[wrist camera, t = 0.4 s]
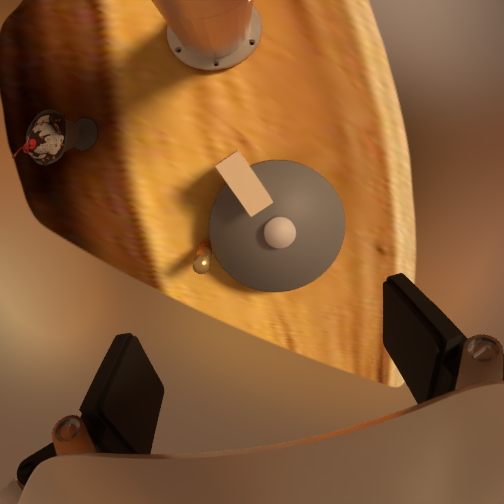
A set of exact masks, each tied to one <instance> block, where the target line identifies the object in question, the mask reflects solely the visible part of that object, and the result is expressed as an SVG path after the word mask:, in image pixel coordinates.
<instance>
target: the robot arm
mask: <svg viewBox="0 0 504 504" xmlns="http://www.w3.org/2000/svg"><path fill="white" fill-rule="evenodd" d="M152 1H153V3H154V5H155V6H156V7H157V9H158V10H159V12H160V13H161V15H162V16H163V18H164V19H165V20H166V22H167V23H168V26H167V41H168V44H169V47H170V49H171V50H172V52H173V53H174V55H175V56H176V57H177V58H178V59H179V60H180V61H182V62H183V63H184V64H186V65H188V66H190V67H193V68H196V69H200V70H208V71H213V70H222V69H227V68H230V67H232V66H235V65H237V64H239V63H241V62H242V61H244V60H245V59H246V58H248V57H249V56H250V55H251V54H252V53H253V51H254V50H255V49H256V47H257V45H258V43H259V42H260V38H261V34H262V20H261V17H260V15H259V13H258V11H257V9H256V8H255V7H254V6H253V0H152ZM250 43H253V45H250ZM179 50H181V52H179V53H178V51H179ZM216 63H217V64H218V66H214V65H215V64H216ZM383 343H384V346H385V348H386V350H387V352H388V353H389V355H390V357H391V358H392V360H393V362H394V363H395V365H396V367H397V368H398V370H399V372H400V374H401V375H402V377H403V379H404V380H405V382H406V384H407V386H408V387H409V389H410V391H411V393H412V394H413V396H414V398H415V400H416V402H417V403H418V405H415V406H413V407H410V408H407V409H404V410H402V411H399V412H396V413H393V414H390V415H387V416H384V417H382V418H378V419H375V420H372V421H369V422H366V423H362V424H359V425H356V426H353V427H349V428H345V429H342V430H338V431H334V432H330V433H326V434H322V435H318V436H314V437H309V438H305V439H300V440H295V441H290V442H285V443H279V444H273V445H267V446H261V447H254V448H247V449H239V450H230V451H219V452H207V453H192V454H156V455H154V454H150V453H151V448H152V443H153V439H154V434H155V430H156V425H157V421H158V417H159V412H160V408H161V404H162V399H163V395H164V386H163V384H162V382H161V381H160V379H159V377H158V375H157V373H156V372H155V370H154V368H153V366H152V364H151V363H150V361H149V359H148V357H147V355H146V353H145V352H144V350H143V348H142V346H141V344H140V342H139V340H138V338H137V337H136V336H133V335H132V334H131V333H126V334H120V335H117V336H116V337H115V338H114V340H113V342H112V344H111V346H110V348H109V350H108V352H107V354H106V356H105V357H104V360H103V361H102V363H101V365H100V367H99V369H98V371H97V373H96V375H95V378H94V379H93V382H92V384H91V386H90V388H89V390H88V392H87V394H86V396H85V398H84V400H83V402H82V405H81V407H80V409H79V410H80V411H81V413H82V415H81V417H79V416H77V415H70V416H66V417H64V418H62V419H61V420H59V421H58V422H57V423H56V425H55V426H54V428H53V431H52V440H53V442H52V443H51V444H49V445H47V446H46V447H44V448H42V449H41V450H39V451H38V452H36V453H34V454H33V455H31V456H29V457H28V458H26V459H25V460H23V461H22V462H21V463H20V465H19V467H18V470H17V478H18V480H16V479H15V478H13V480H12V481H11V482H10V483H9V484H8V485H7V486H6V487H5V488H4V489H3V490H2V491H1V492H0V504H504V353H503V347H502V345H501V343H500V342H499V341H498V340H497V339H496V338H494V337H492V336H490V335H485V334H478V335H474V336H472V337H470V338H468V339H467V338H466V337H465V335H463V333H462V332H461V331H460V330H459V329H458V328H457V327H456V326H455V325H454V324H453V322H451V320H450V319H449V318H448V317H447V316H446V315H445V314H444V313H443V312H442V311H441V310H440V309H439V308H438V307H437V306H436V305H435V304H434V303H433V302H432V301H430V300H429V299H428V298H427V297H426V296H425V295H424V294H423V293H422V292H421V291H420V290H419V289H418V288H417V287H416V286H415V285H414V284H413V283H412V282H411V281H410V280H409V279H408V278H407V277H406V276H405V275H404V274H403V273H399V274H396V275H392V276H389V277H387V281H386V282H384V283H383Z"/></svg>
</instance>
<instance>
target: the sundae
mask: <svg viewBox="0 0 504 504" xmlns="http://www.w3.org/2000/svg"><path fill="white" fill-rule="evenodd" d="M97 136H98V129H97V125H96V123H95V122H94V121H93V120H92V119H90V118H81V119H79V120H77V121H76V122H75V123H74V122H72V121H70V120H68V119H65V115H62V114H61V113H60V112H58V111H55V110H44V111H42V112H40V113H39V114H38V115H37V116H36V117H35V118H34V120H33V121H32V122H31V124H30V126H29V128H28V131H27V134H26V143H25V145H24V146H23V147H21V148H20V149H23V151H24V152H25V153H29V154H30V155H31V157H32V158H33V160H34V161H35V162H36V163H38V164H40V165H44V166H47V165H48V164H51V163H54V162H56V161H57V160H58V159H60V157H61V156H62V155H63V153H64V152H66V151H68V150H70V149H71V148H73V147H74V148H76V149H77V150H79V151H85V150H88V149H90V148H91V147H92V146H93V145H94V144H95V142H96V140H97ZM20 149H19V150H20ZM19 150H18V151H19ZM18 151H17V153H18ZM17 153H15V154H14V155H13V156H12V158H15V157H16V155H17Z"/></svg>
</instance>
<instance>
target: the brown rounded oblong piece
mask: <svg viewBox="0 0 504 504" xmlns="http://www.w3.org/2000/svg"><path fill="white" fill-rule="evenodd" d="M212 251H213V249H212V246H211V242H210V241H209V240H203V241H202V242H201V243H200V245H199V248H198V251H197V254H196V257H195V260H194V263H193V269H194V271H195V272H196V273H198V274H205V273H206V272H207V271H208V270H209V265H210V261H211V256H212Z"/></svg>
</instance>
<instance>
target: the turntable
mask: <svg viewBox="0 0 504 504" xmlns="http://www.w3.org/2000/svg"><path fill="white" fill-rule="evenodd" d="M215 167H216V168H217V170H218V171H219V173H220V174H221V175H222V177H223V178H224V180H225V181H226V182H227V183H226V184H225V185H224V187H223V188H222V189H221V191H220V192H219V194H218V196H217V198H216V200H215V202H214V205H213V208H212V211H211V215H210V221H209V237H210V242H211V246H212V249H213V252H214V254H215V256H216V258H217V260H218V262H219V263H220V265H221V266H222V268H223V269H224V270H225V271H226V272H227V273H228V274H229V275H230V276H231V277H233V278H234V279H235V280H237V281H238V282H240V283H241V284H243V285H245V286H248V287H250V288H253V289H256V290H260V291H266V292H284V291H290V290H294V289H297V288H300V287H303V286H305V285H307V284H309V283H311V282H313V281H314V280H315V279H317V278H318V277H320V276H321V275H322V274H323V273H324V272H325V271H326V270H327V269H328V268H329V267H330V266H331V264H332V263H333V262H334V260H335V259H336V257H337V255H338V253H339V251H340V249H341V246H342V243H343V239H344V235H345V215H344V209H343V206H342V203H341V200H340V198H339V196H338V194H337V192H336V191H335V189H334V188H333V186H332V185H331V184H330V183H329V182H328V181H327V180H326V179H325V178H324V177H323V176H322V175H321V174H319V173H318V172H316V171H315V170H313V169H311V168H309V167H307V166H305V165H303V164H300V163H297V162H293V161H287V160H269V161H263V162H259V163H256V164H253V165H251V166H249V164H248V163H247V161H246V160H245V158H244V157H243V156H242V154H241V153H240V151H239V150H236V151H235V152H233V153H232V154H230V155H229V156H227V157H226V158H224V159H223V160H222V161H220V162H219V163H217V165H216V166H215Z"/></svg>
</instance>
